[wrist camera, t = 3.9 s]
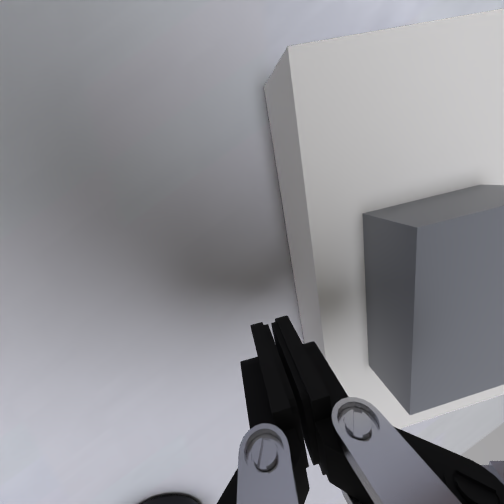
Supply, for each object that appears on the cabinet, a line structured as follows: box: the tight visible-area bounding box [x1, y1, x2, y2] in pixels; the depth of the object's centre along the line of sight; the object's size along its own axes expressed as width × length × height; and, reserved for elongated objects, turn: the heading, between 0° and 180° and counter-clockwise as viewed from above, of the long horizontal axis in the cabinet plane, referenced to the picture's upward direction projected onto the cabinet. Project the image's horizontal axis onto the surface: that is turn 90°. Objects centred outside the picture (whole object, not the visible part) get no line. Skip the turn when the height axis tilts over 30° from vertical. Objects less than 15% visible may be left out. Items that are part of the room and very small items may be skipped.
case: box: [362, 184, 504, 415], centre depth 11 cm, size 9×6×3 cm, turn 12°
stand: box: [264, 8, 504, 429], centre depth 14 cm, size 22×14×4 cm, turn 12°
